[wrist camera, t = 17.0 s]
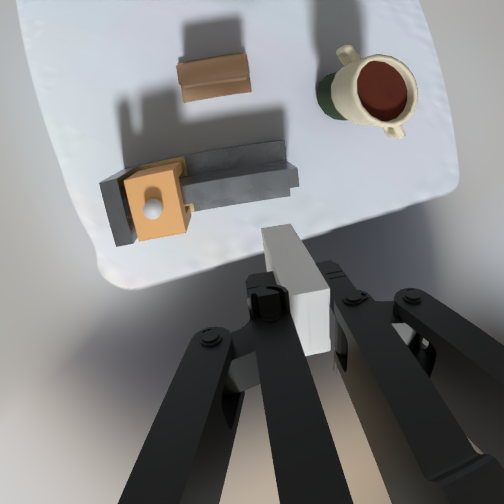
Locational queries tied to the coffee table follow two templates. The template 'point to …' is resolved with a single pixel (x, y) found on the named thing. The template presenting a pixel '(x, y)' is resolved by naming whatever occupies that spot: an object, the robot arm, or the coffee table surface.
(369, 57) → the character mug
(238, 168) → the rail
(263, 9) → the coffee table surface
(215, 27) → the coffee table surface
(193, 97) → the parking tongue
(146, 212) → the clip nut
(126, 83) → the coffee table surface
